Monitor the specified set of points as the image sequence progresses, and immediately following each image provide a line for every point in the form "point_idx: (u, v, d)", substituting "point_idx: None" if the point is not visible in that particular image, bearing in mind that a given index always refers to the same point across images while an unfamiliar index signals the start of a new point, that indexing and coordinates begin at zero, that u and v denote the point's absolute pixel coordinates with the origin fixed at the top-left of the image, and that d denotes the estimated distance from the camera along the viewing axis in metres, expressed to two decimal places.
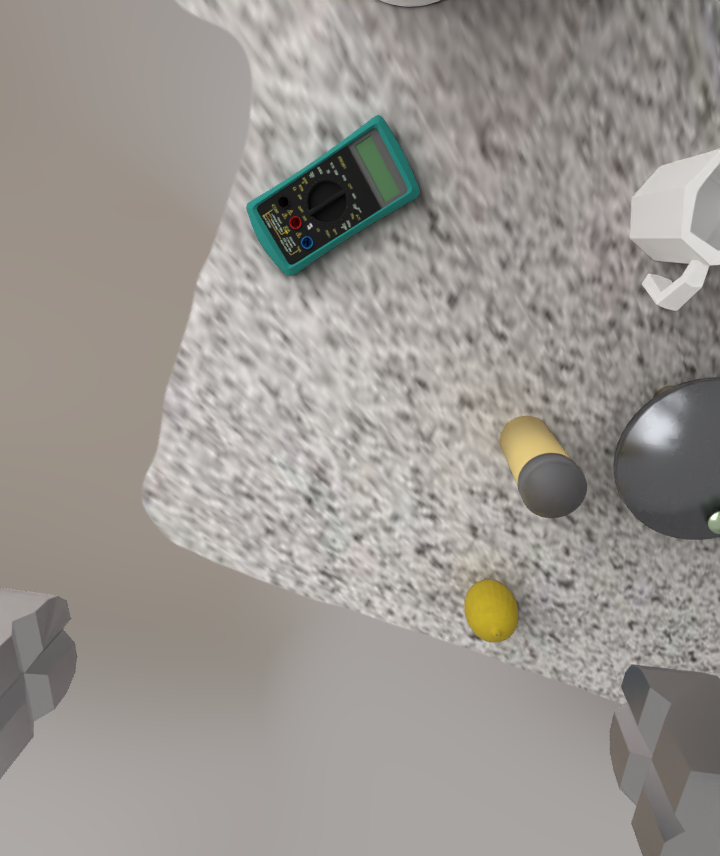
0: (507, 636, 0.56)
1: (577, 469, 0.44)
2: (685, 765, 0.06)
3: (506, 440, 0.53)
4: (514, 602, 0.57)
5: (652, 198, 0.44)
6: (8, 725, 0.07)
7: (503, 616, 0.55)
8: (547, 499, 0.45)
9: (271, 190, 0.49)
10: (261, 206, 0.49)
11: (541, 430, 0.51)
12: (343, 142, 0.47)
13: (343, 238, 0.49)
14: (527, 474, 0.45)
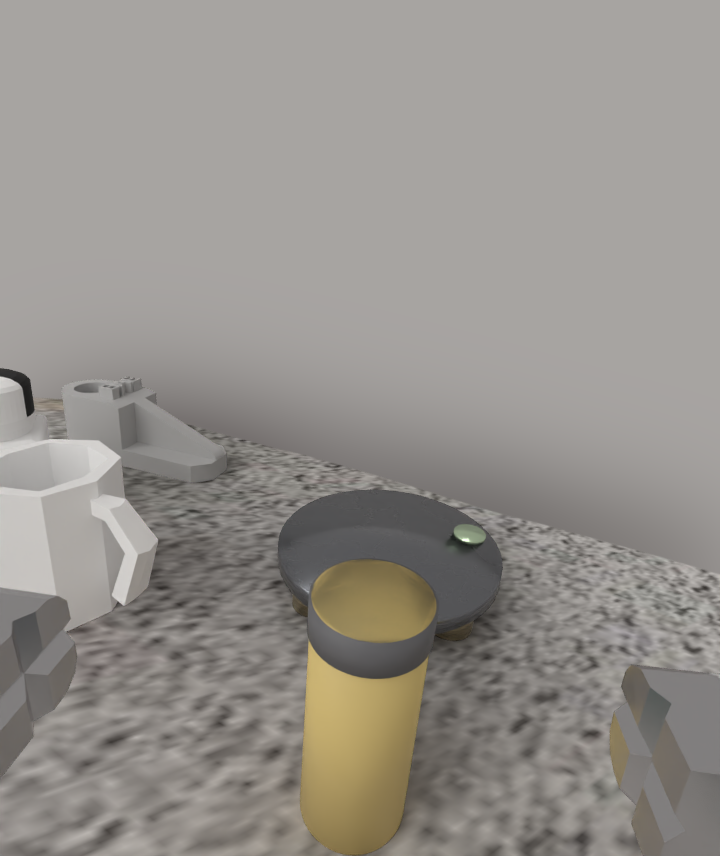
0: None
1: (334, 566, 0.24)
2: (685, 765, 0.06)
3: (331, 806, 0.23)
4: None
5: (2, 572, 0.33)
6: (8, 725, 0.07)
7: None
8: (395, 606, 0.21)
9: None
10: None
11: None
12: None
13: None
14: (334, 632, 0.20)
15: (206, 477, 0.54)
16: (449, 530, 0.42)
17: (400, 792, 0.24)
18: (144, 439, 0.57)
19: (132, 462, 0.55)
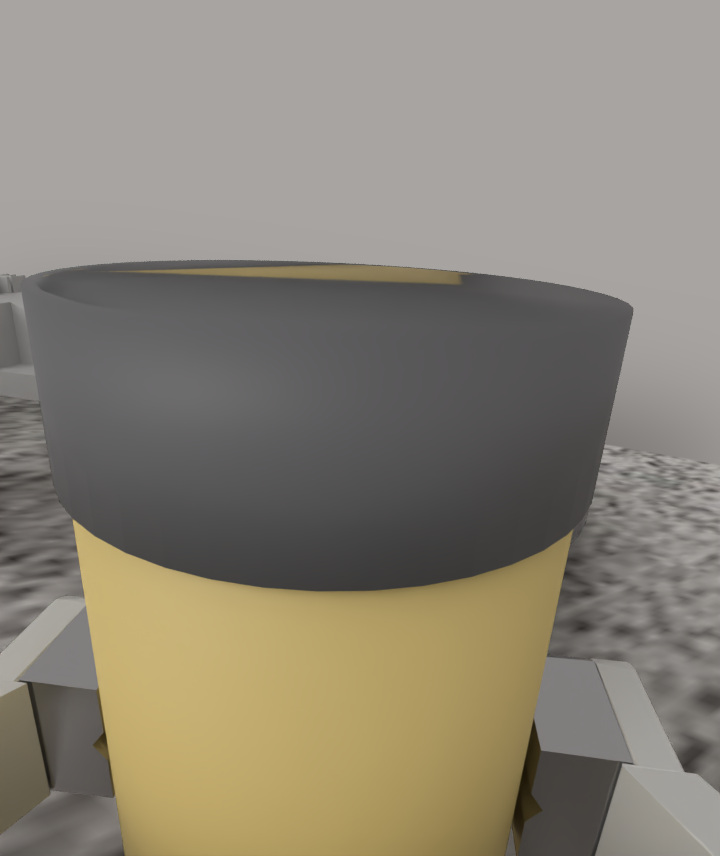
0: None
1: None
2: (539, 745, 0.06)
3: None
4: None
5: None
6: None
7: None
8: (431, 292, 0.05)
9: None
10: None
11: None
12: None
13: None
14: (83, 312, 0.03)
15: None
16: None
17: None
18: (29, 357, 0.40)
19: (9, 387, 0.38)
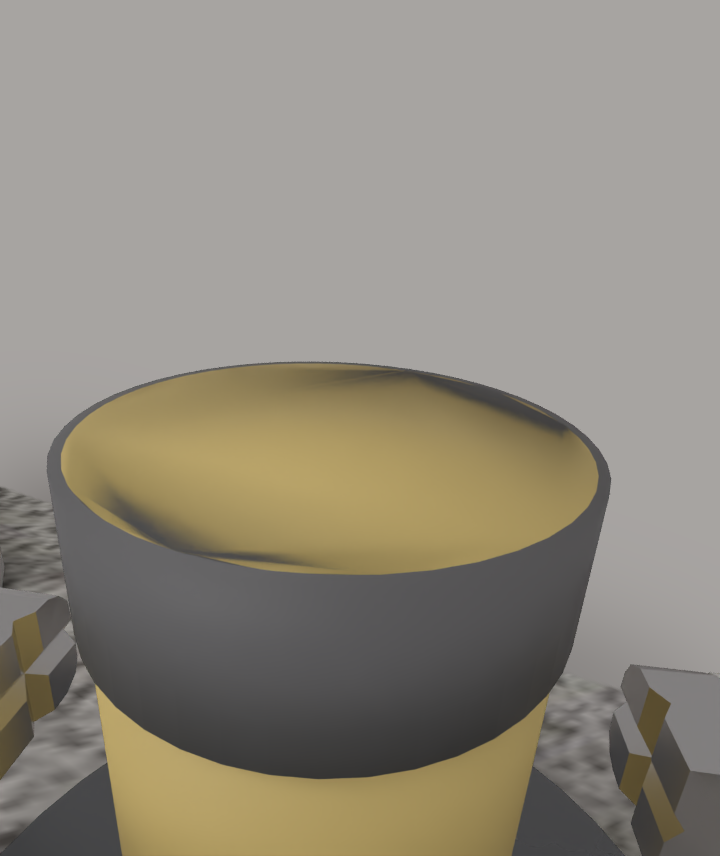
0: None
1: (214, 372, 0.07)
2: (685, 765, 0.06)
3: None
4: None
5: None
6: (8, 725, 0.07)
7: None
8: (425, 449, 0.05)
9: None
10: None
11: None
12: None
13: None
14: (108, 534, 0.04)
15: None
16: None
17: None
18: None
19: None
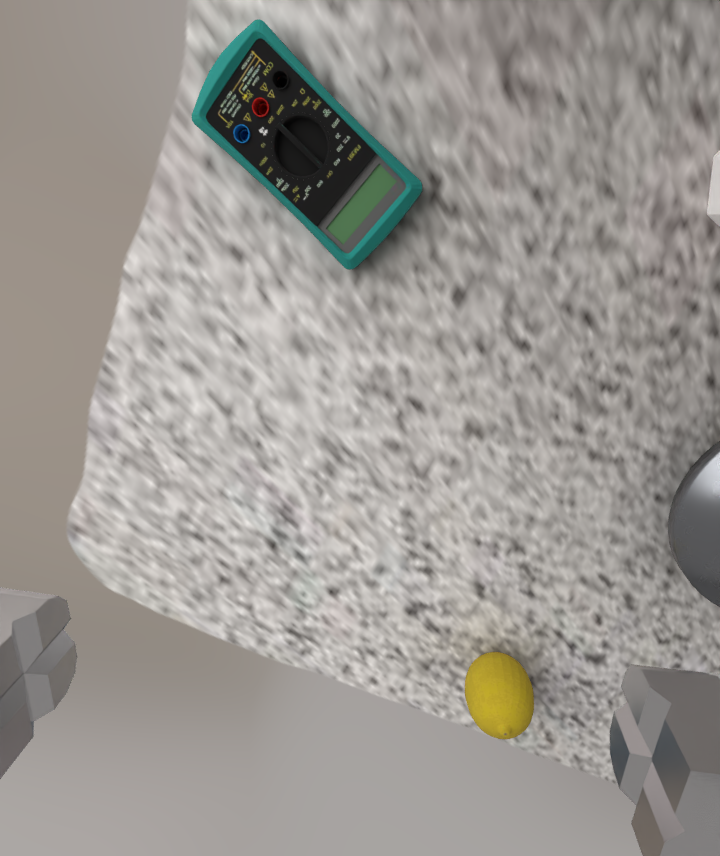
0: (519, 733, 0.43)
1: None
2: (685, 765, 0.06)
3: None
4: (529, 687, 0.44)
5: None
6: (8, 725, 0.07)
7: (514, 708, 0.42)
8: None
9: (289, 54, 0.33)
10: (264, 44, 0.33)
11: None
12: (378, 147, 0.34)
13: (265, 185, 0.36)
14: None
15: None
16: None
17: None
18: None
19: None
